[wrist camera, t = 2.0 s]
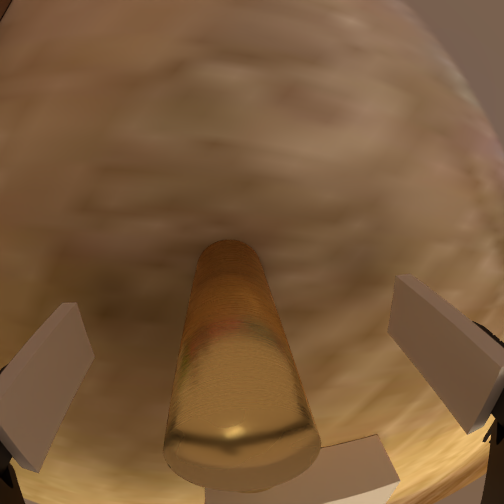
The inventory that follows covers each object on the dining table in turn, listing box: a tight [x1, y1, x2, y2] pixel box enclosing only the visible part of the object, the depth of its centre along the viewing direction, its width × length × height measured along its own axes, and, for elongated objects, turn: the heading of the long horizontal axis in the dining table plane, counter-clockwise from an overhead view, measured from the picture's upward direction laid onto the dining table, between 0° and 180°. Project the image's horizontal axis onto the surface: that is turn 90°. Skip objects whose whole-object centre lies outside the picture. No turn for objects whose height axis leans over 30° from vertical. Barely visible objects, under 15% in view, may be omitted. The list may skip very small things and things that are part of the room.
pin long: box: [163, 240, 321, 492], centre depth 12 cm, size 4×4×12 cm
